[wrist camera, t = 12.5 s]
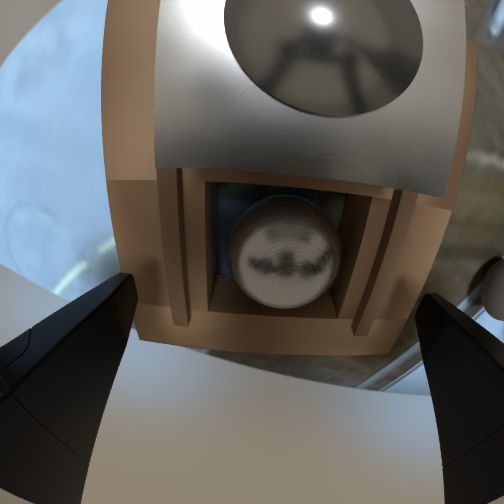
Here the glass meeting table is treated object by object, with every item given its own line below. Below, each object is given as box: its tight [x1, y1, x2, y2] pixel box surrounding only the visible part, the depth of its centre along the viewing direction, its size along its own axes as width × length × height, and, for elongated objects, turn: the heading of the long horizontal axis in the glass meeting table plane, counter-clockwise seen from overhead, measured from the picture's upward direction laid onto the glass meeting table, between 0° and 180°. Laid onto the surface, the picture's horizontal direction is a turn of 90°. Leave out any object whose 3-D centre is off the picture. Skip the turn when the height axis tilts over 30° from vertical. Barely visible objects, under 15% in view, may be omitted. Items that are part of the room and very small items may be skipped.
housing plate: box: [101, 0, 478, 356], centre depth 9 cm, size 12×14×3 cm
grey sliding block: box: [154, 0, 466, 198], centre depth 5 cm, size 6×6×3 cm
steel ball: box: [227, 195, 342, 309], centre depth 10 cm, size 4×4×4 cm
